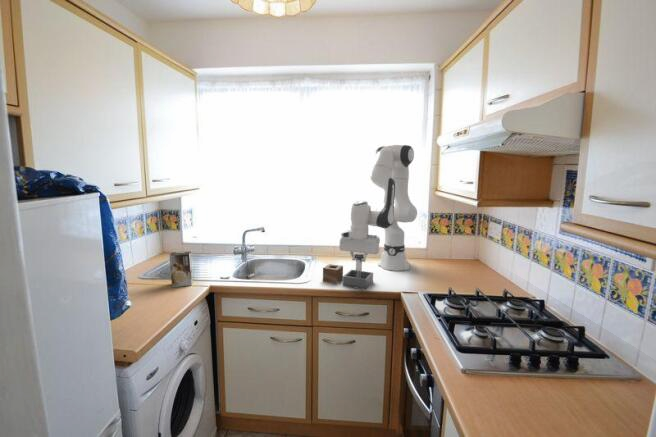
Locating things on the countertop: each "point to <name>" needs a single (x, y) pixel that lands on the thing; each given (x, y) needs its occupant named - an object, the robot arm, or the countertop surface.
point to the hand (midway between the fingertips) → (358, 260)
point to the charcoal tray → (358, 279)
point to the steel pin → (359, 265)
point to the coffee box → (181, 269)
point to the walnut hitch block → (333, 273)
